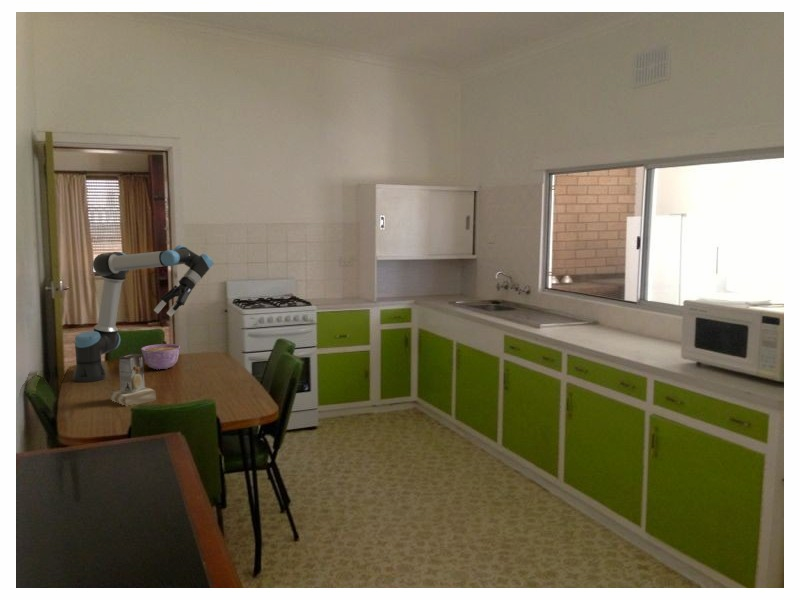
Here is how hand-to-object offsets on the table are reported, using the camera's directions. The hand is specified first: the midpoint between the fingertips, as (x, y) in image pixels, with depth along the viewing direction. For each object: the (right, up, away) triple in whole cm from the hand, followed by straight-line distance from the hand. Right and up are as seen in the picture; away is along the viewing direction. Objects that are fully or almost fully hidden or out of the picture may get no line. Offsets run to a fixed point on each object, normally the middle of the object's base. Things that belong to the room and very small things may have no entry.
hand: (162, 313), depth 326 cm
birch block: (-5, -39, -23) cm, 46 cm away
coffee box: (-5, -35, -23) cm, 42 cm away
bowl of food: (-14, -31, +40) cm, 52 cm away
